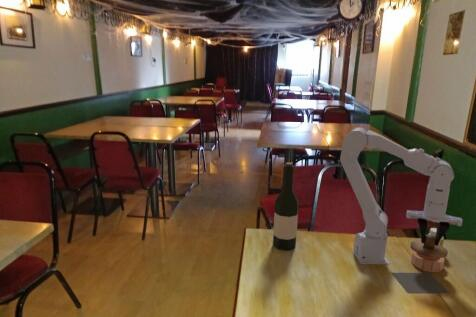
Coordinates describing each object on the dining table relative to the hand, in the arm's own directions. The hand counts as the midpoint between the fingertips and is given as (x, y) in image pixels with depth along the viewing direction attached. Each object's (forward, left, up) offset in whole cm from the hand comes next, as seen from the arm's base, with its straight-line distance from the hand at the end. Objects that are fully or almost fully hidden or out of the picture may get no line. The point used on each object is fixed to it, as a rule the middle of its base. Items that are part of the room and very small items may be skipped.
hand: (429, 243), depth 105 cm
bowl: (+2, +3, -9) cm, 10 cm away
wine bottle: (-42, +16, -10) cm, 46 cm away
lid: (0, 0, -2) cm, 2 cm away
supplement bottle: (+9, +11, -10) cm, 17 cm away
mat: (-6, -7, -9) cm, 13 cm away
